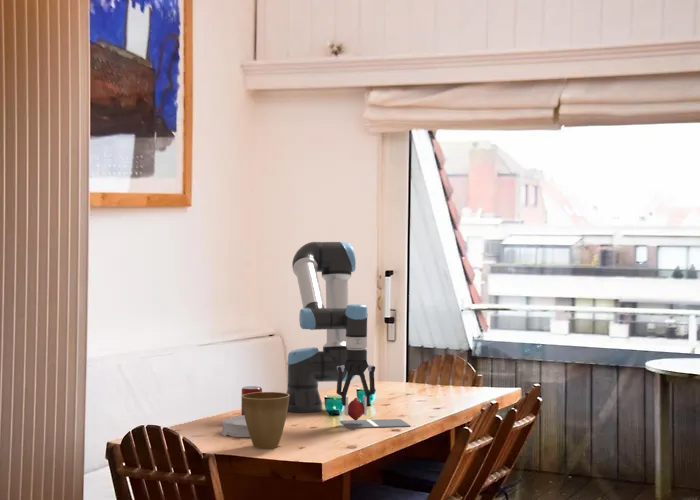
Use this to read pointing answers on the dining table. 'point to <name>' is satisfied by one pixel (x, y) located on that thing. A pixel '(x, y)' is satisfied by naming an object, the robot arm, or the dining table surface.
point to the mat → (375, 423)
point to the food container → (235, 427)
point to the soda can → (249, 390)
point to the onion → (355, 409)
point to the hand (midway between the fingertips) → (355, 414)
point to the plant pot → (265, 417)
